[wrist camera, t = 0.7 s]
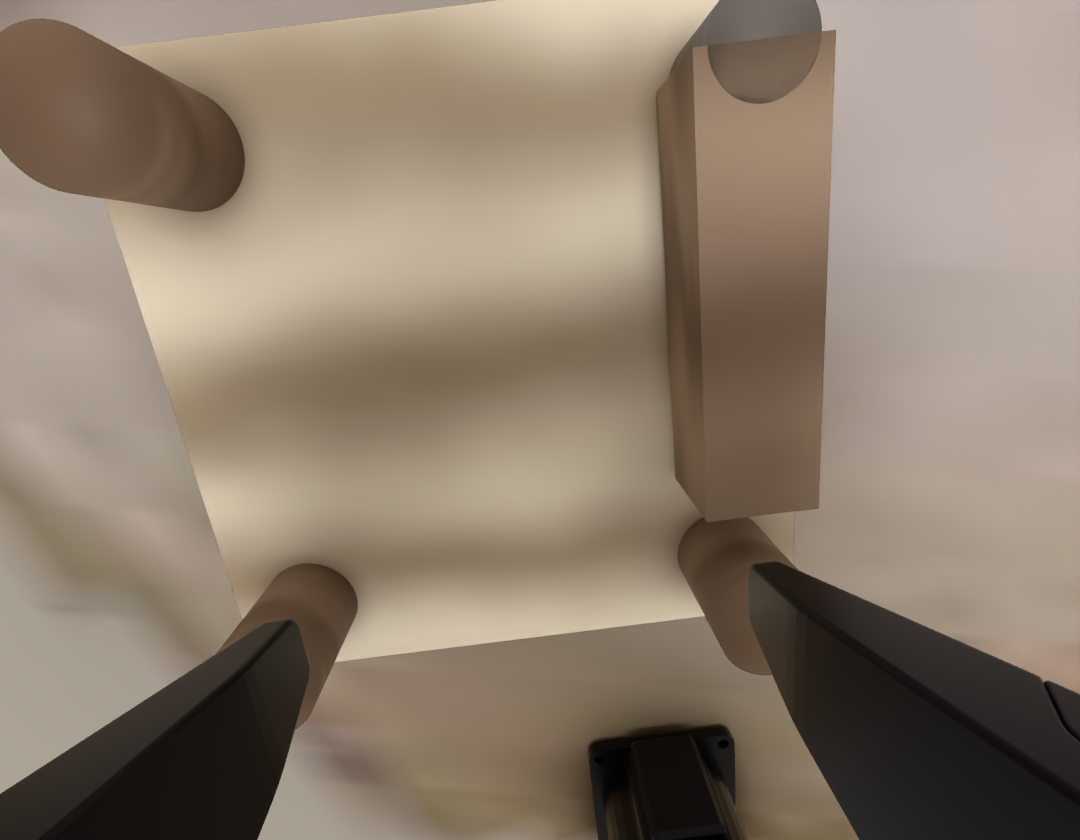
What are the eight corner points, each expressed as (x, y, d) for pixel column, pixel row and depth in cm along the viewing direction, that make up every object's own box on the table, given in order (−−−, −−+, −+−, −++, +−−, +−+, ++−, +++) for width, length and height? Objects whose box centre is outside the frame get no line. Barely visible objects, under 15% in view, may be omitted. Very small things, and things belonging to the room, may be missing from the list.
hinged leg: (654, 38, 14) (690, -22, 11) (771, 24, 14) (838, -40, 11) (675, 478, 17) (706, 521, 14) (767, 467, 17) (818, 508, 14)
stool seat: (756, 559, 22) (862, 692, 15) (294, 617, 22) (193, 775, 15) (756, 15, 16) (922, -158, 10) (138, 91, 16) (-129, -29, 10)
